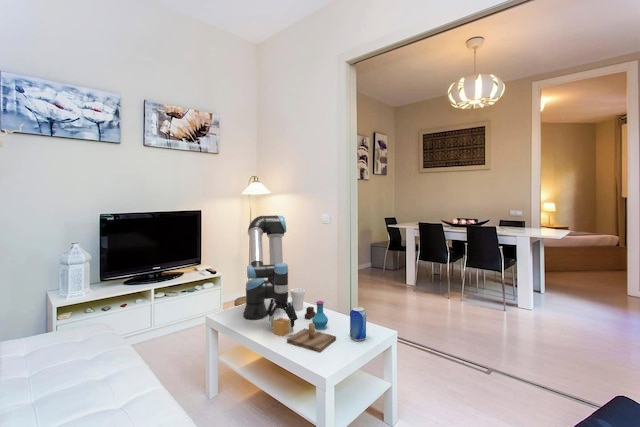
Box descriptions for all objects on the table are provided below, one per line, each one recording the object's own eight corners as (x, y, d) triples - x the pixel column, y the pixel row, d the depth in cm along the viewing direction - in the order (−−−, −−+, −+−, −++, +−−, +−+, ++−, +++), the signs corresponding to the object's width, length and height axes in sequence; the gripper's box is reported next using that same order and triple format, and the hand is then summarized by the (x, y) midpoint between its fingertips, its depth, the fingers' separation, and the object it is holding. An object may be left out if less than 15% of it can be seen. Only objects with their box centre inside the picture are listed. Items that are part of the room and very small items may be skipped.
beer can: (369, 338, 165) (369, 308, 165) (360, 343, 159) (360, 312, 158) (356, 333, 171) (356, 304, 170) (346, 338, 165) (346, 308, 164)
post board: (286, 342, 160) (286, 325, 159) (304, 331, 173) (304, 315, 173) (319, 352, 149) (319, 334, 149) (335, 340, 163) (335, 323, 162)
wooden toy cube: (273, 333, 171) (273, 321, 171) (280, 329, 176) (280, 317, 176) (282, 336, 167) (282, 323, 167) (289, 332, 173) (289, 319, 173)
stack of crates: (315, 325, 184) (315, 313, 184) (295, 320, 192) (295, 309, 192) (328, 317, 197) (328, 306, 197) (308, 312, 205) (308, 302, 205)
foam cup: (288, 309, 209) (287, 290, 209) (296, 306, 217) (296, 287, 216) (298, 312, 204) (298, 293, 203) (307, 308, 211) (307, 289, 211)
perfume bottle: (308, 326, 180) (308, 301, 180) (321, 322, 186) (320, 298, 186) (319, 331, 173) (319, 305, 173) (331, 327, 179) (331, 301, 179)
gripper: (259, 290, 174) (260, 327, 175) (295, 296, 161) (295, 337, 162) (268, 287, 181) (268, 323, 181) (303, 293, 168) (303, 332, 168)
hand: (281, 329), depth 172 cm, fingers open, 13 cm apart
